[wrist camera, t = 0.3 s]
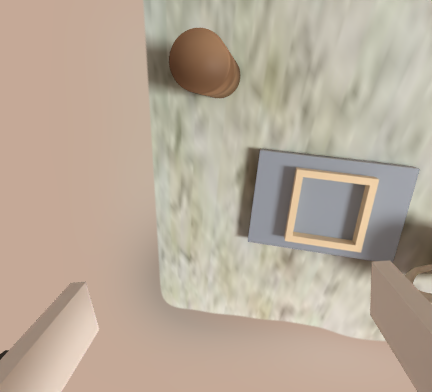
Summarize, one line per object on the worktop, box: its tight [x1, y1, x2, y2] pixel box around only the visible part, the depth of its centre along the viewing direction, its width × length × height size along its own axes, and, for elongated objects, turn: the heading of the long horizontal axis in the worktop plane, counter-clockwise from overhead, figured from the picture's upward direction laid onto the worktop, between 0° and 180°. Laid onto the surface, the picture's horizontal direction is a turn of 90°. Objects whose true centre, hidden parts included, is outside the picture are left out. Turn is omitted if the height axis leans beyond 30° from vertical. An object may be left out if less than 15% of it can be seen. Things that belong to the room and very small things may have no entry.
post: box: [169, 28, 240, 98], centre depth 31 cm, size 5×5×12 cm
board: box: [248, 149, 420, 263], centre depth 38 cm, size 12×18×3 cm, turn 84°
